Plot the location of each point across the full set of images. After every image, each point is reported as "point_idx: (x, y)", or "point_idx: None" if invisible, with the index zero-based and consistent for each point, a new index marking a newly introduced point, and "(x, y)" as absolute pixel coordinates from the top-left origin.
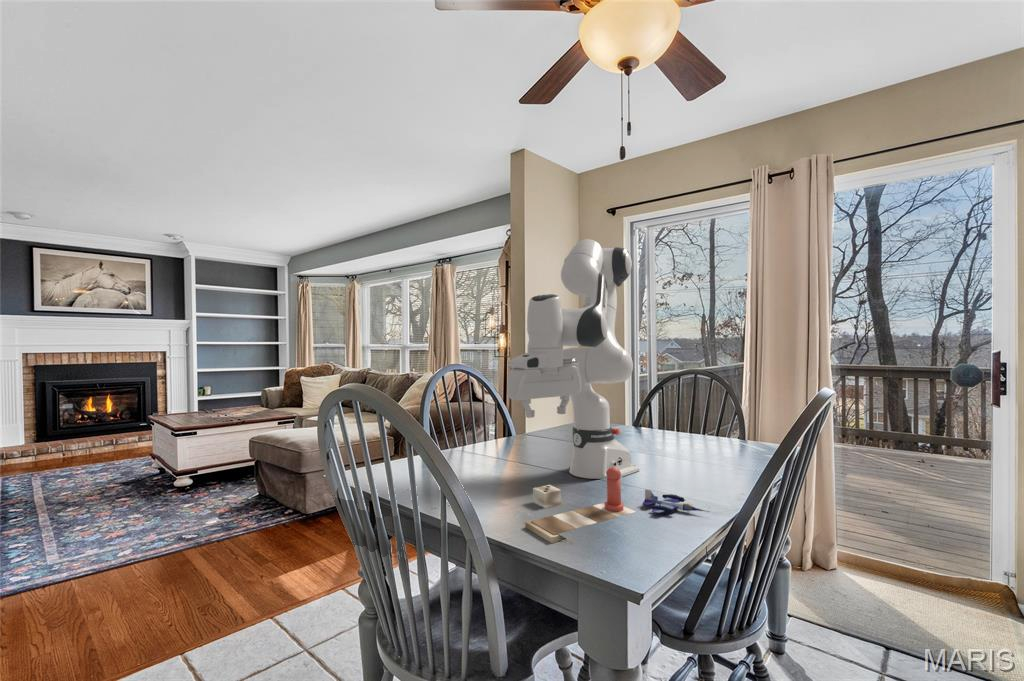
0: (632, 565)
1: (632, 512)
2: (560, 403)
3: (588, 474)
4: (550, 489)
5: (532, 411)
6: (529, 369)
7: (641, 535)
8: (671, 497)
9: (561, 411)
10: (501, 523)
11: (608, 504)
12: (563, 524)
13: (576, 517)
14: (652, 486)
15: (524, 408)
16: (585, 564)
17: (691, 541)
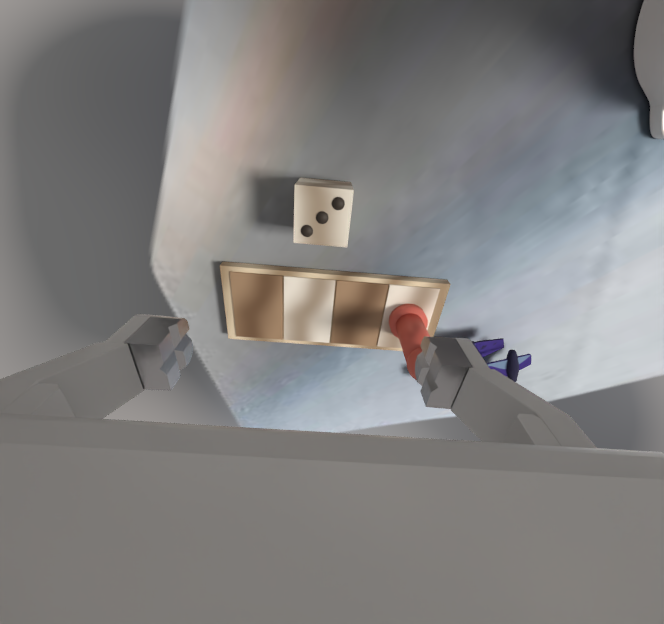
0: (284, 416)
1: None
2: (492, 383)
3: (650, 57)
4: (327, 227)
5: (154, 383)
6: None
7: (362, 381)
8: (507, 367)
9: (420, 383)
10: (187, 213)
11: (395, 322)
12: (275, 317)
13: (316, 309)
14: (636, 251)
15: (82, 349)
16: (237, 391)
17: (394, 419)
